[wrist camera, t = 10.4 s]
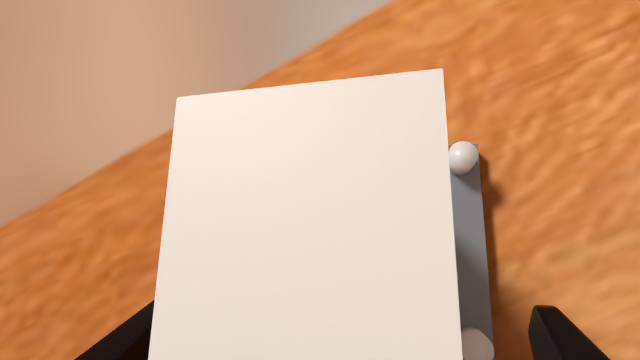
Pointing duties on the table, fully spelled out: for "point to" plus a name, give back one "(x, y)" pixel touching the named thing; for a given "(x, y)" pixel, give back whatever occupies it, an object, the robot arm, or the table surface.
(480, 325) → the locating plate
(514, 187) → the table surface
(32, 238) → the table surface
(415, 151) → the block
